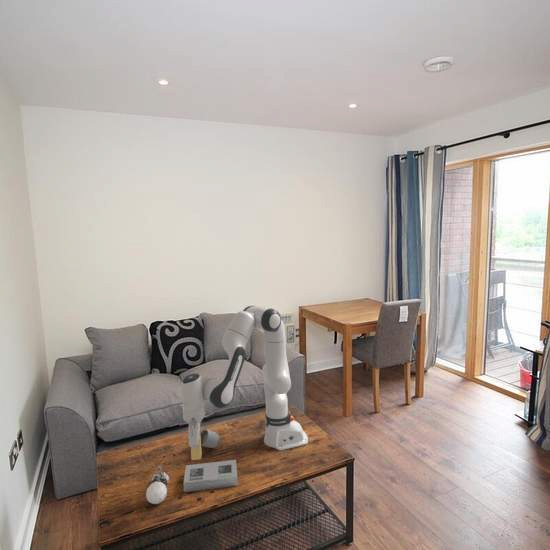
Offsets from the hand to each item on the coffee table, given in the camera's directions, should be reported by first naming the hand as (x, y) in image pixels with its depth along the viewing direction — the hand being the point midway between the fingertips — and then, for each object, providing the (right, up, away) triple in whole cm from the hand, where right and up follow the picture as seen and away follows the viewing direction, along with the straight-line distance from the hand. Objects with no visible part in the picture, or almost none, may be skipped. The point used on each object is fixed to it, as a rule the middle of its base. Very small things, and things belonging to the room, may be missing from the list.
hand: (195, 444), depth 159 cm
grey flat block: (+6, -16, +3) cm, 18 cm away
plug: (0, -6, +1) cm, 6 cm away
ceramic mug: (0, -14, +28) cm, 31 cm away
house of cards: (-16, -18, 0) cm, 24 cm away
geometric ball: (-13, -18, -10) cm, 25 cm away
